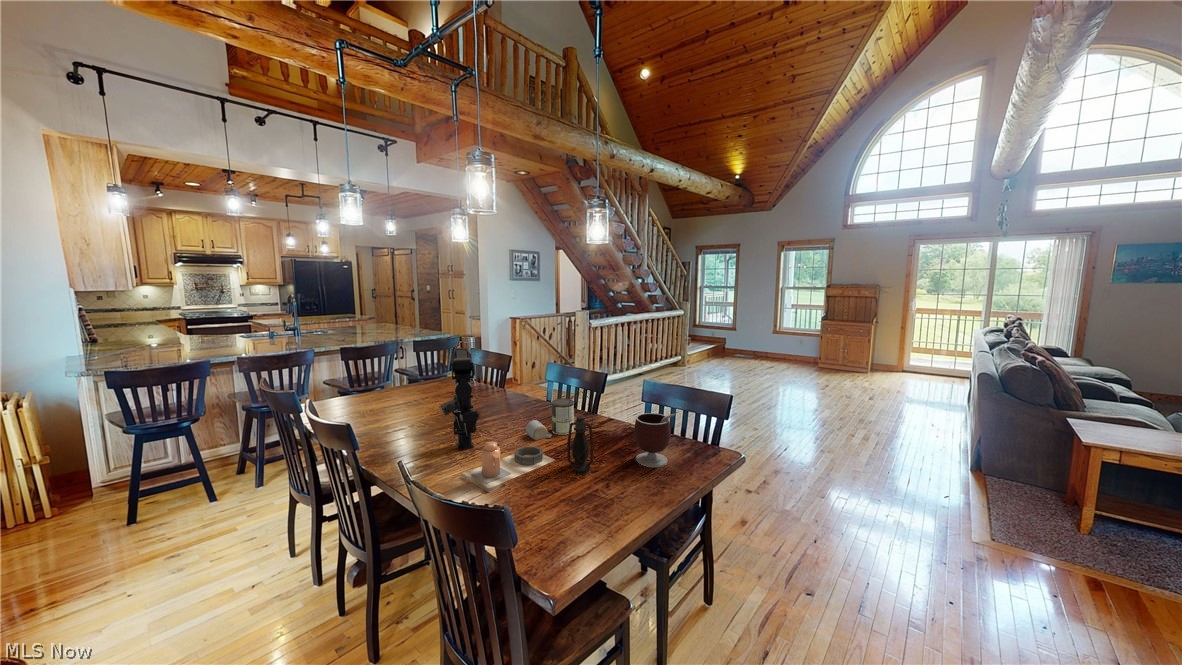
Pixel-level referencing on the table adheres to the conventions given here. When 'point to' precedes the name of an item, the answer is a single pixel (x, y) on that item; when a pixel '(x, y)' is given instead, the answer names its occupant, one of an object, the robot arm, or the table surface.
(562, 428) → the coffee can
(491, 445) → the peach jug
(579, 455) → the lantern
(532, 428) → the ceramic mug
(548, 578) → the table surface
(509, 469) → the board
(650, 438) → the mate gourd
